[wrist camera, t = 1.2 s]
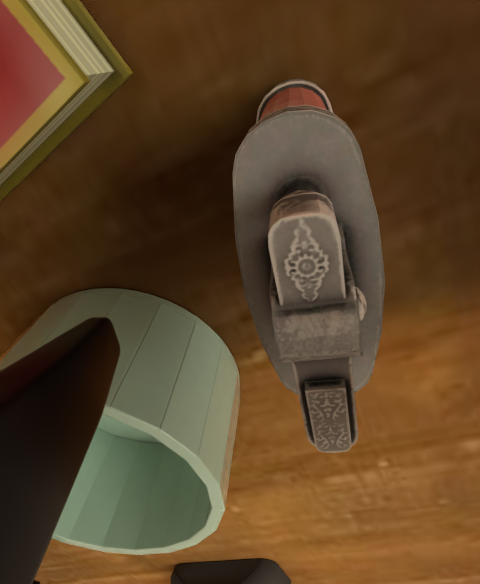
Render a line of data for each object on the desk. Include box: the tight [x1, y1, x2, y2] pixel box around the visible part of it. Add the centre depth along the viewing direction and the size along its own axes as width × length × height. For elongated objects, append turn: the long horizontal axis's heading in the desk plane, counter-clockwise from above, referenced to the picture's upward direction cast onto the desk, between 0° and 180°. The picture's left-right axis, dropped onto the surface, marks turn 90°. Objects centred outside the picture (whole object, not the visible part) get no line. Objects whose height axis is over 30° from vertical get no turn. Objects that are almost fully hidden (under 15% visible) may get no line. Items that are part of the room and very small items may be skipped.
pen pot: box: [0, 288, 240, 555], centre depth 20 cm, size 13×13×7 cm
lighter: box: [232, 79, 385, 453], centre depth 11 cm, size 8×3×10 cm, turn 13°
